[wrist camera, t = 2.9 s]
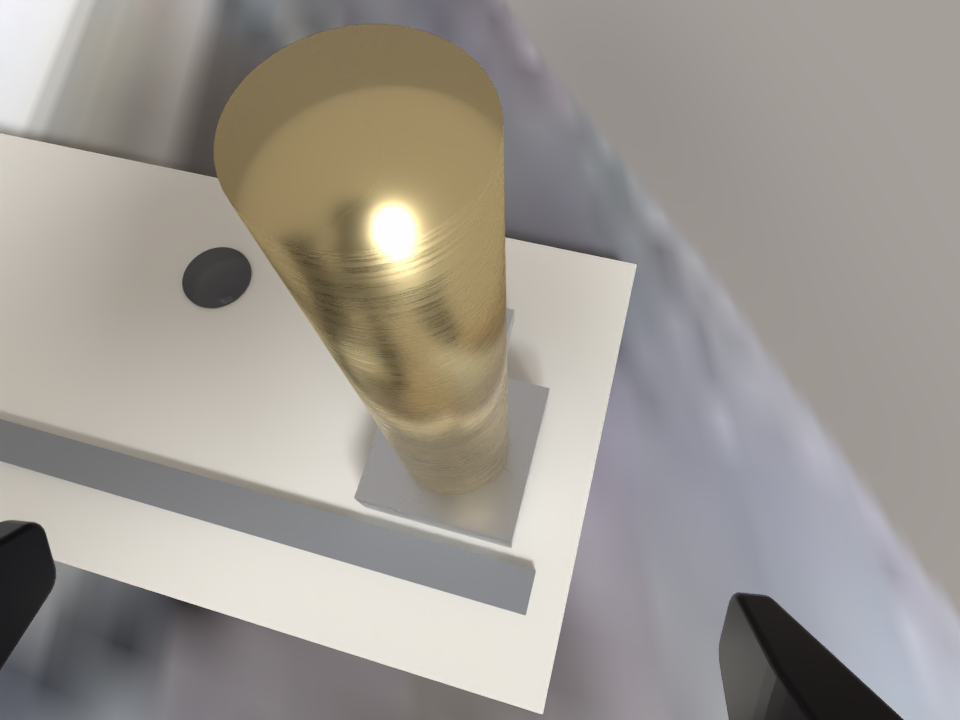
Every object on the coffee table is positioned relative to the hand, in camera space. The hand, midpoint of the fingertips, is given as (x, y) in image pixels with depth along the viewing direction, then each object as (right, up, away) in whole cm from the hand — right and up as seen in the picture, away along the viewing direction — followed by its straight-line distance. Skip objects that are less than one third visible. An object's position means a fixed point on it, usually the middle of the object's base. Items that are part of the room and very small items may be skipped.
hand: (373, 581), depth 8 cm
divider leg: (+1, +1, +11) cm, 11 cm away
